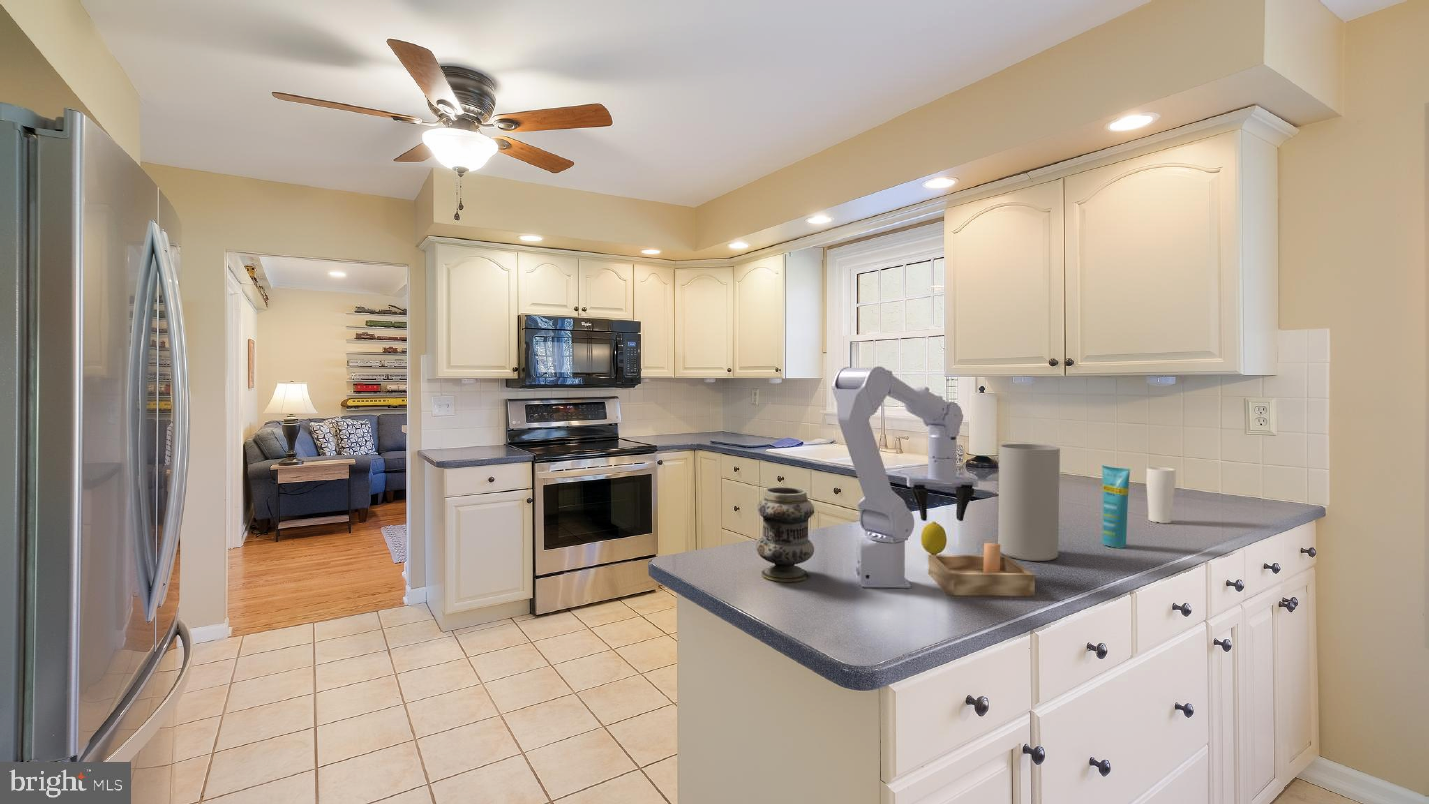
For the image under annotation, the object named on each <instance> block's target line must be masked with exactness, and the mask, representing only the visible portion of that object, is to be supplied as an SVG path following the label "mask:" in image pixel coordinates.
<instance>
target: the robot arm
mask: <svg viewBox="0 0 1429 804" xmlns="http://www.w3.org/2000/svg"><path fill="white" fill-rule="evenodd" d="M831 389H832V393H833V395H834V398H835V401H836V413H837V421H838V424H839V427H840V430H841V434H842V436H843V439H844V442H845V445H846V448H847V450H848V453H849V457H850V459H851V462H852V465H853V468H854V471H855V474H856V476H857V479H858V482H859V485H860V488H861V492H862V494H863V497H862V498H861V499H860V500H859V502H858V503H857V508H858V513H859V514H858V515H859V518H858V519H859V525H860V527H861V528H862V531H863V530H864V531H865V532H864V536H866V537H860V538H857V539H856V543H855V544H856V545H855V577H856V579H857V581H858V582H859V584H860V585H861V587H862V588H898V589H899V588H900V589H901V588H903V589H905V588H907V589H909V588H911V587H912V585H911V583H909V581H908V580H907V578H906V577H905V574H906V572H905V571H906V570H905V569H906V565H905V564H906V563H905V562H906V561H905V560H906V558H905V557H906V554H905V553H906V541H908V540H909V538H910V537H911V535H912V534H913V531H914V528H915V517H914V514H913V513H912V511H911V510H910V509H909V508H908V506H907V504H906V502H905V500H904V499H903V498H902V497H901V496H899V494H898V493H896V492H895V491H894V490H893V489H892V486H891V482H890V480H889V477H888V474H887V471H886V467H885V465H884V463H883V458H882V456H881V453H880V449H879V447H878V445H877V441H876V438H875V437H876V436H875V434H874V432H873V429H872V425H871V423H870V418H871V416H874V415H875V414H876V412H877V411H878V410H879V408H880V407H881V405H882V403H883V402H884V401H885V399H886V398H887V397H890V398H891V399H893V400H897V401H898V402H900V403H903V404H904V408H905V410H906V411H907V412H908V413H909V414H912V415H914V416H916V417H917V418H920V419H921V420H922V421H923V424H924V426H926V427H928V436H927V437H928V440H927V442H928V451H927V453H928V455H927V456H928V457H927V458H928V459H927V461H928V463H927V466H928V467H927V475H918V476H907V477H906V486H907V487H909V488H910V490H911V492H912V493H913V496H914V498H915V501H916V503H917V506H918V510H919V511H918V512H919V515H920V520H921V521H922V522H927V520H928V509H927V507H928V506H927V504H928V497H929V496H928V494H929V491H928V490H927V488H926V487H955V496H956V512H955V515H956V520H958V521H960V522H963V521H964V517H965V513H966V510H967V508H968V505H969V502H970V500H971V499H972V497H973V495H974V493H975V488H978V487H979V478H978V477H976V476H963V475H962V476H960V475H957V453H958V452H957V447H958V445H957V443H958V442H957V441H958V440H957V439H958V438H957V437H959V434H960V430H961V429H960V428H961V425H962V423H963V421H964V414H963V411H962V408H961V406H960V405H959V404H958V403H956V402H955V401H946V400H945V399H943V398H944V397H943V396H941V395H937V394H935V393H932V392H931V391H930V388H929V387H927V386H918V387H914V388H913V387H911V386H909V384H907V383H906V382H903V381H902V380H901V379H899V378H898V377H897V376H895V375H893V372H892V370H888V369H886V368H885V367H883V366H881V365H880V366H874V367H871V366H870V367H851V366H845V367H842V368H840V369H839V370H838V371H837V373H836V375H835V377H834V380H833V382H832V384H831Z"/></svg>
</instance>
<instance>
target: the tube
mask: <svg viewBox="0 0 1429 804" xmlns="http://www.w3.org/2000/svg"><path fill="white" fill-rule="evenodd" d="M1101 467H1102V469H1101V470H1102V471H1101V472H1102V540H1101V541H1102V545H1103V544H1104V545H1103V546H1105V545H1108V546H1111V547H1110V548H1113V547H1116V548H1115V549H1123V548H1126V547H1127V535H1128V534H1127V530H1128V529H1127V528H1128V508H1129V507H1128V505H1129V488H1130V486H1129V485H1130V473H1131V468H1126V467H1125V468H1123V467H1115V466H1113V467H1112V466H1108V465H1103V464H1102V465H1101ZM1108 546H1107V547H1108Z"/></svg>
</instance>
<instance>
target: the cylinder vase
mask: <svg viewBox="0 0 1429 804" xmlns="http://www.w3.org/2000/svg"><path fill="white" fill-rule="evenodd" d="M998 450H999V452H998V455H999V459H998V524H997V525H998V526H997V527H998V529H997V530H998V531H997V532H998V533H997V536H998V537H997V544H1000V554H1002V555H1003V556H1008V557H1009V558H1011V559H1016V560H1020V561H1021V560H1022V561H1029V562H1046V561H1047V562H1049V561H1052V560H1055V559H1056V558H1058V556H1059V531H1060V530H1059V529H1060V528H1059V526H1060V525H1059V522H1060V470H1061V469H1060V467H1061V465H1060V464H1061V461H1060V460H1061V447H1060V446H1059V447H1058V446H1055V445H1048V444H1047V445H1046V444H1037V443H1036V444H1032V443H1005V444H1004V443H1003V444H1000V445H999V448H998Z"/></svg>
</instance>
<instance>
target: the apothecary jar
mask: <svg viewBox="0 0 1429 804" xmlns="http://www.w3.org/2000/svg"><path fill="white" fill-rule="evenodd" d="M756 509H757V513H758V514H759V516H760V517H762V536H761V538H759V540H758V541H757V543H756V545H755V546H756V549H755V550H756V553H757V555H759V557H761V558H762V559H763V560H765V561H766V562H768V563H771V564H774V565H770V566H769V567H765V568H764V569H763V570H762V571H761V576H762V577H763V578H764V579H766V580H769V581H771V582H772V581H773V582H779V583H797V582H802V581H804V580H807V577H809V576H810V574H809V572H808V571H807V570H806V569H803V568H802V567H800V566H798V565H799V564H803V563H804V562H806V561H808V560H809V559H810V558H811V557H812V556H813V555H814V552H815V546H814V544H813V543H812V541H811V540H810V539H809V519H810V518H812V516H813V515H814V513H815V507H814V504H813V502H811V501H810V500H809V499H808V494H807V491H806V489H804V488H801V487H795V486H794V487H793V486H772V487H768V488H766V489H765V494H764V496H763V498H762V499H761V500H760V501H759V502H758V504H757V507H756Z"/></svg>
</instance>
